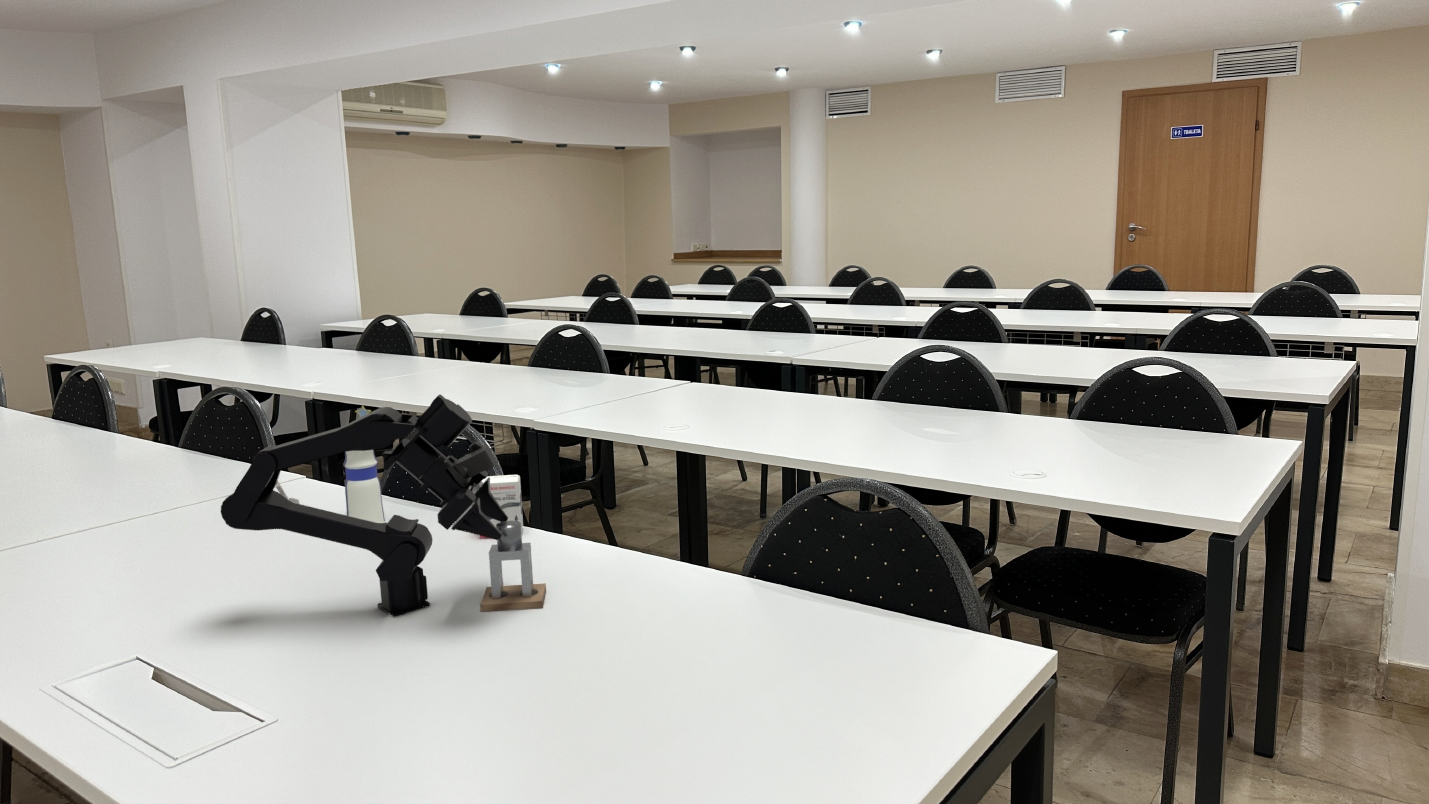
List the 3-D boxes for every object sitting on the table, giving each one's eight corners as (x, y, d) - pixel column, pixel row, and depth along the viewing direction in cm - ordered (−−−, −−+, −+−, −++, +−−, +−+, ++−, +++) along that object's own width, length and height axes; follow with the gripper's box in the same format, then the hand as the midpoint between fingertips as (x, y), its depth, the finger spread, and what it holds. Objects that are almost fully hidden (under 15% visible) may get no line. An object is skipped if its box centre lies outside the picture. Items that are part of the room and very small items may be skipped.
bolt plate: (480, 611, 157) (479, 604, 157) (487, 593, 165) (486, 586, 164) (542, 607, 158) (542, 600, 158) (546, 589, 166) (545, 582, 165)
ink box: (479, 539, 194) (475, 482, 192) (481, 531, 199) (477, 476, 197) (522, 536, 195) (518, 480, 193) (523, 529, 200) (520, 474, 198)
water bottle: (342, 520, 209) (331, 407, 204) (383, 515, 212) (373, 403, 208) (345, 531, 201) (333, 414, 197) (388, 525, 205) (377, 409, 200)
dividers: (492, 598, 159) (487, 529, 157) (495, 589, 163) (490, 521, 161) (531, 596, 159) (526, 526, 157) (533, 587, 163) (529, 519, 161)
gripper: (453, 443, 146) (531, 510, 149) (471, 420, 165) (540, 479, 168) (404, 496, 147) (483, 561, 150) (428, 466, 165) (497, 525, 168)
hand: (503, 528), depth 159 cm, fingers open, 9 cm apart
